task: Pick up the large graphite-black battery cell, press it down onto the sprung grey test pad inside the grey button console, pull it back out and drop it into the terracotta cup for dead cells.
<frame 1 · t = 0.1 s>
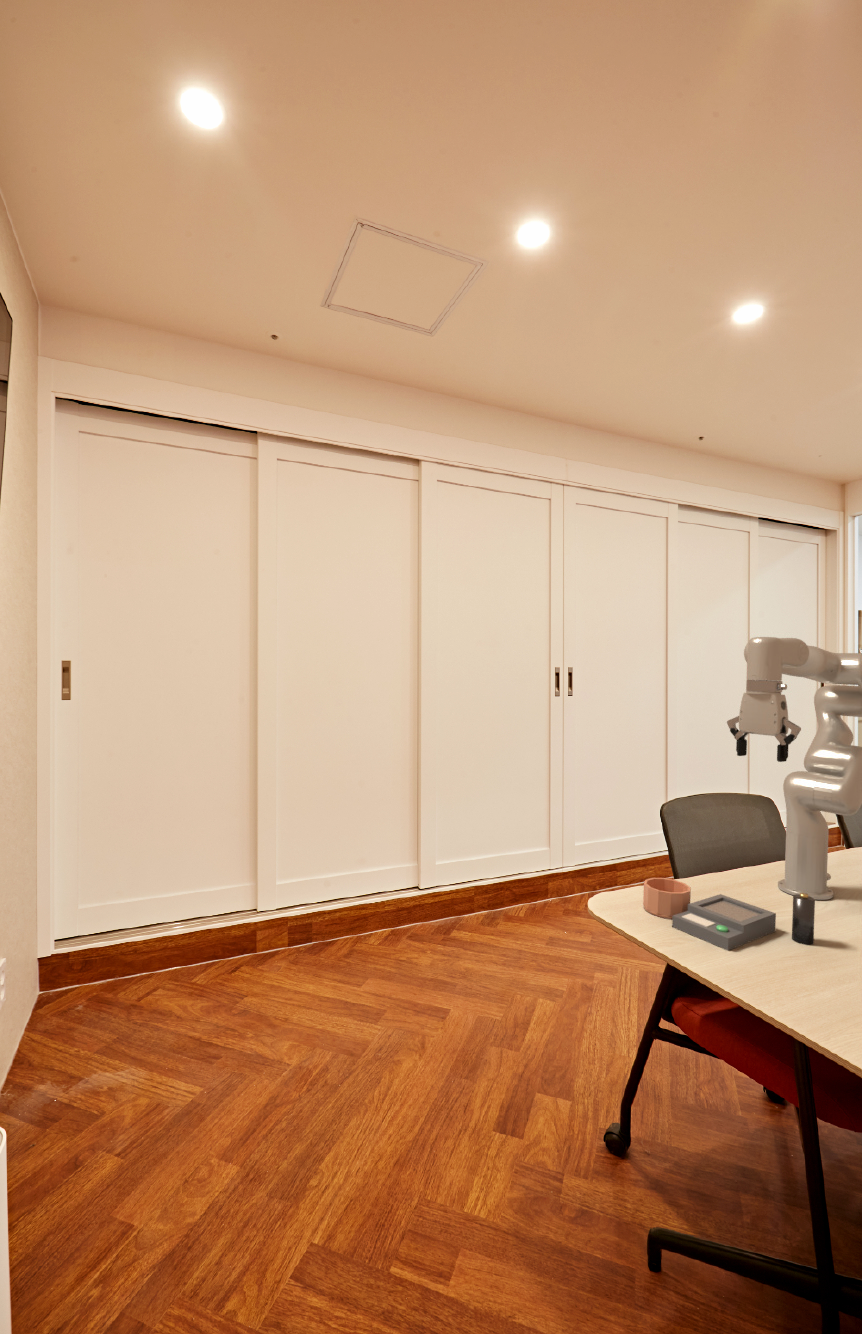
hand: (761, 758, 149), 36 cm above the table, tool pointing down, fingers open, 9 cm apart
battery: (802, 940, 132), on the table
test pad: (731, 913, 138), point 3 cm above the table, slide at 0.0 cm
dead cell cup: (666, 910, 146), on the table
grey button console: (730, 926, 138), on the table
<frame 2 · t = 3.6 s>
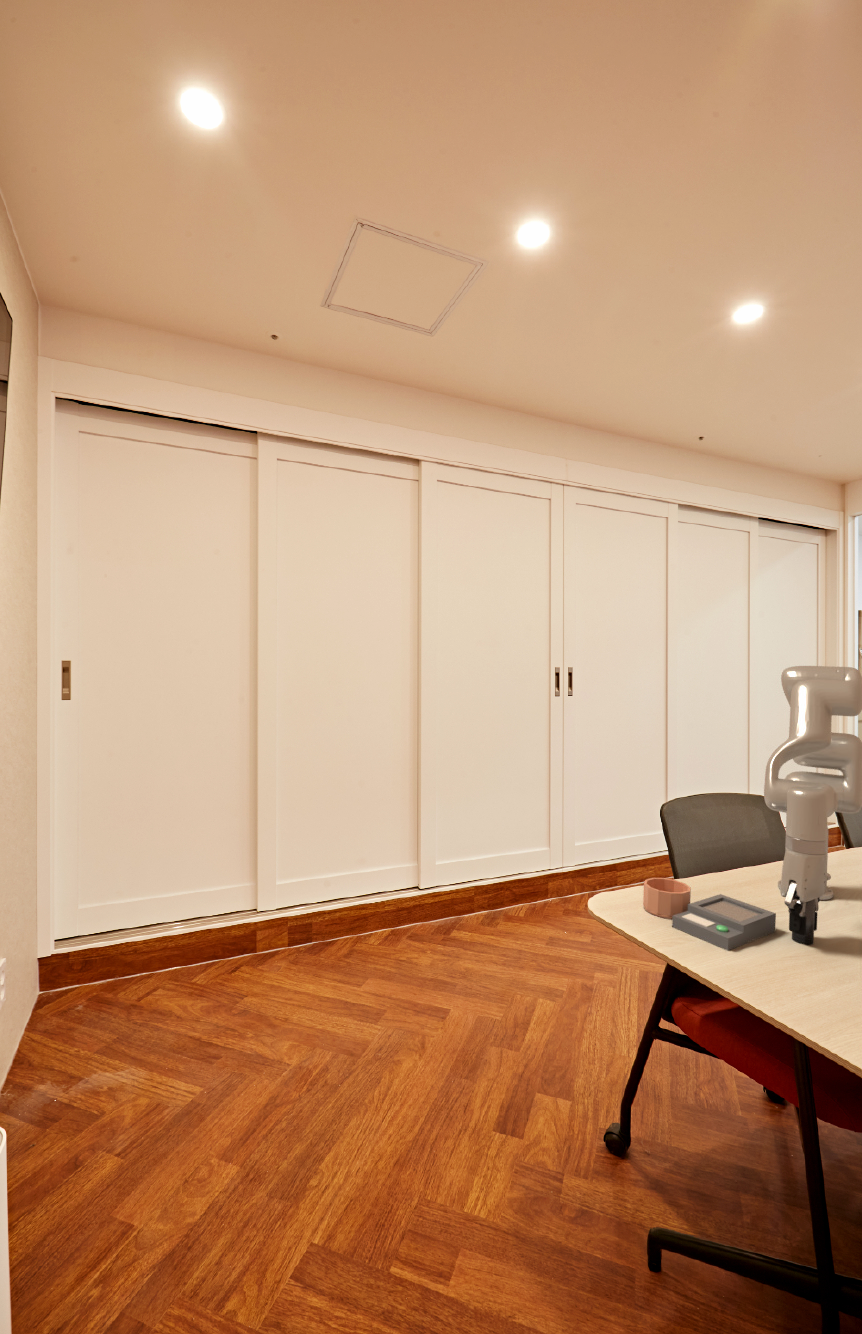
hand: (802, 929, 132), 2 cm above the table, tool pointing down, fingers closed on battery, 4 cm apart
battery: (802, 940, 132), on the table, touching gripper
everything else where it was.
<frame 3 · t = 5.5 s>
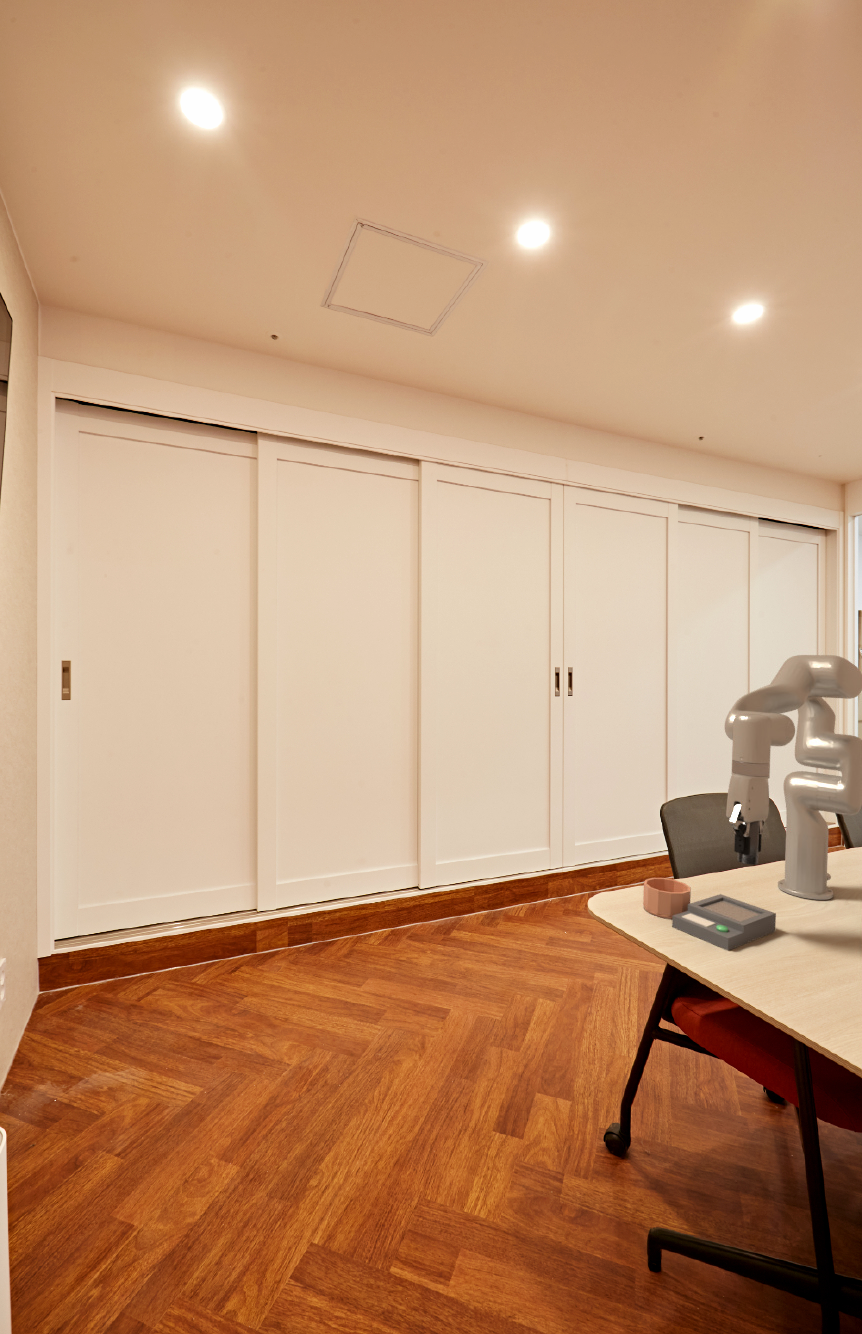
hand: (747, 851, 136), 17 cm above the table, tool pointing down, fingers closed on battery, 4 cm apart
battery: (747, 861, 136), point 15 cm above the table, touching gripper
everything else where it was.
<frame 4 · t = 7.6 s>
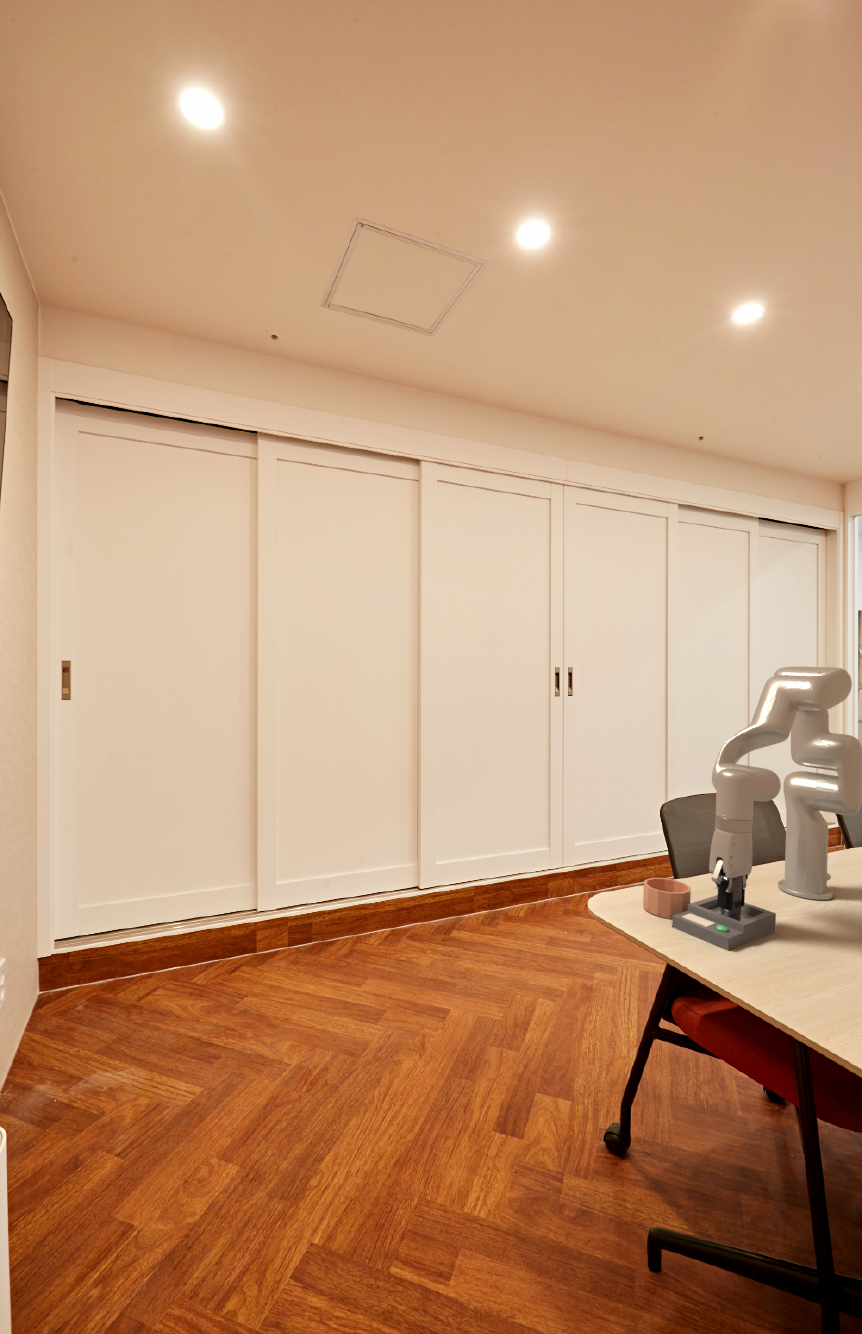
hand: (730, 905, 138), 5 cm above the table, tool pointing down, fingers closed on battery, 4 cm apart
battery: (730, 916, 138), point 2 cm above the table, touching gripper, test pad
test pad: (730, 917, 138), point 2 cm above the table, slide at -1.1 cm, touching battery
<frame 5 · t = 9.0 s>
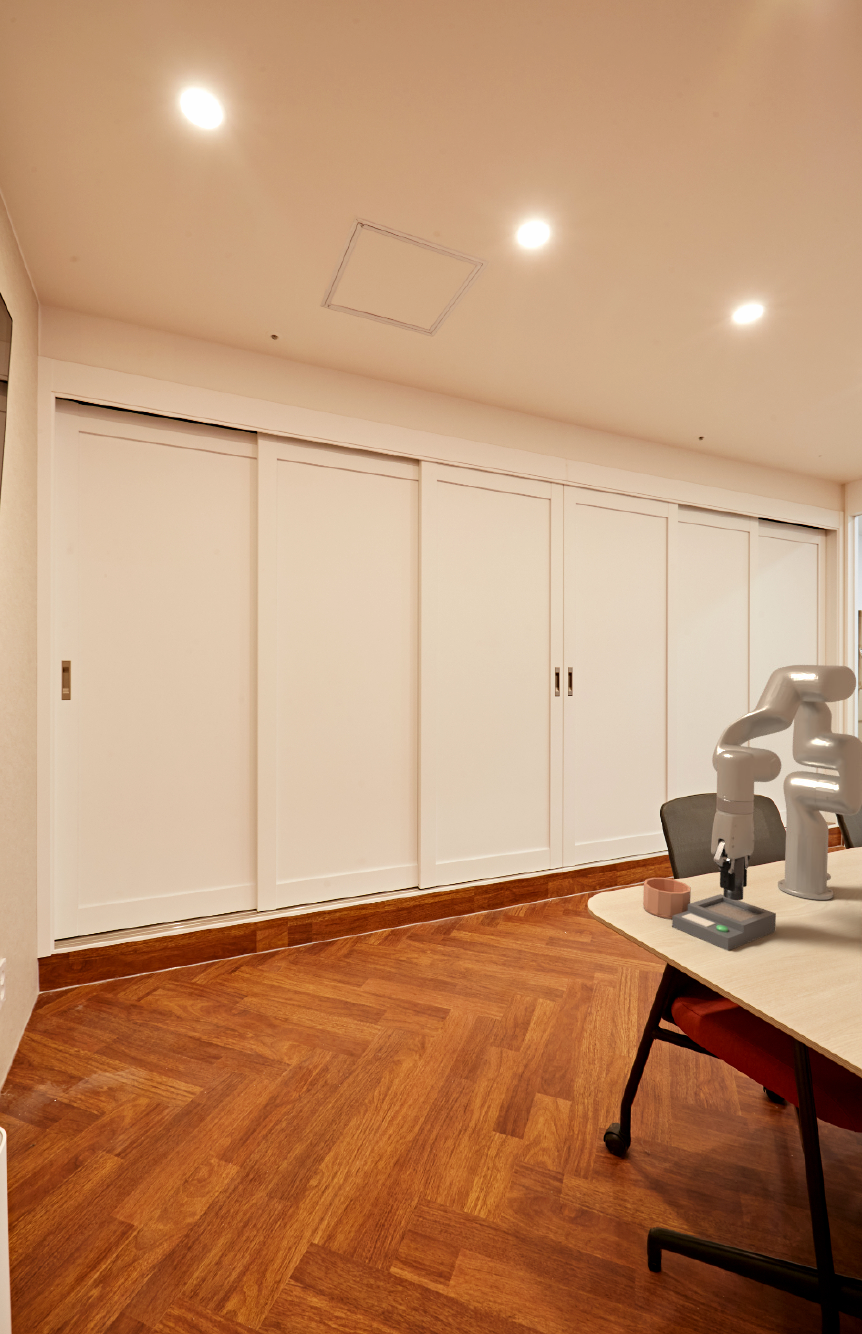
hand: (733, 886, 138), 9 cm above the table, tool pointing down, fingers closed on battery, 4 cm apart
battery: (733, 896, 138), point 7 cm above the table, touching gripper
test pad: (731, 914, 138), point 3 cm above the table, slide at -0.3 cm
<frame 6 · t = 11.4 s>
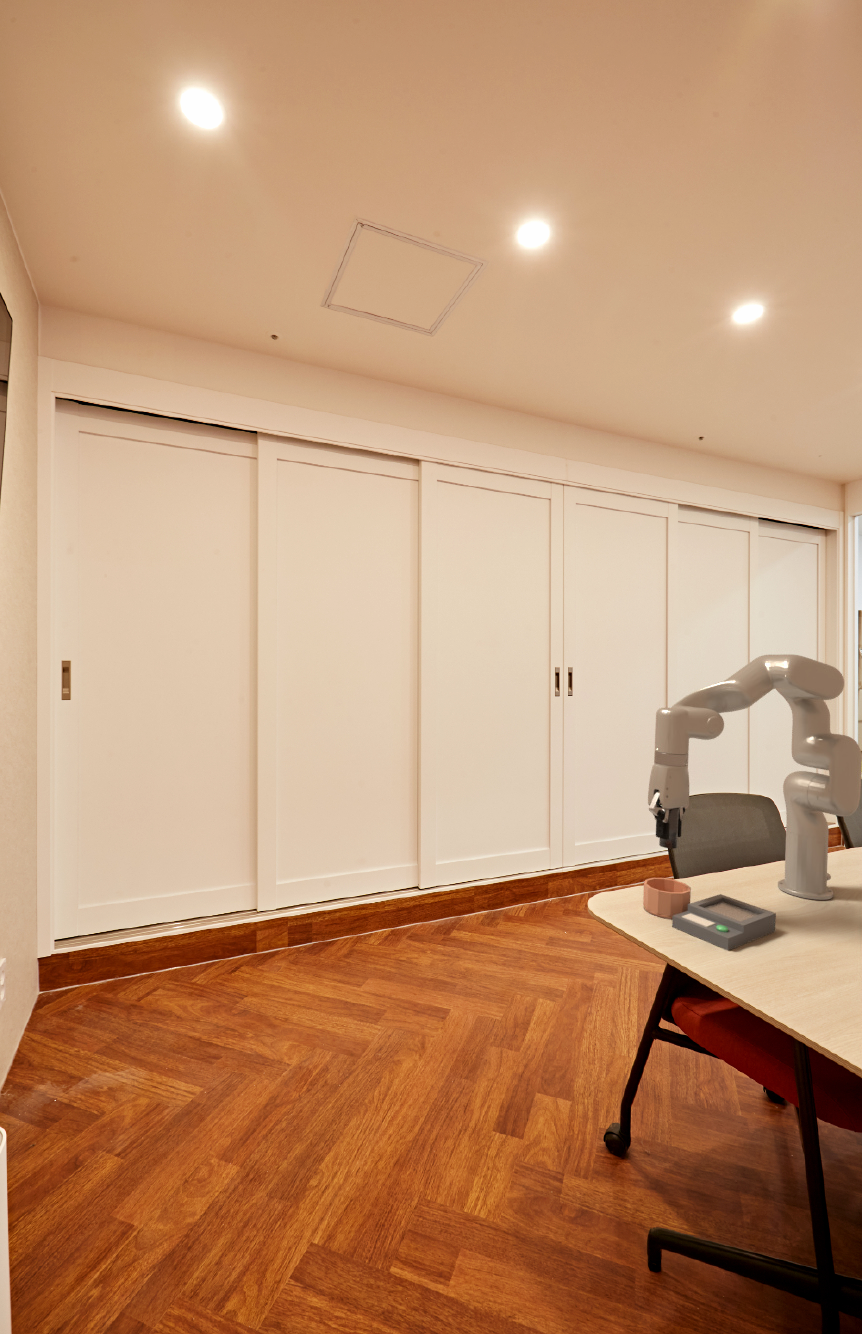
hand: (668, 836, 146), 18 cm above the table, tool pointing down, fingers closed on battery, 4 cm apart
battery: (668, 845, 146), point 15 cm above the table, touching gripper
everything else where it was.
when the fingers open (6 cm above the table, at t = 13.7 s): battery drops 3 cm, resting on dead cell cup.
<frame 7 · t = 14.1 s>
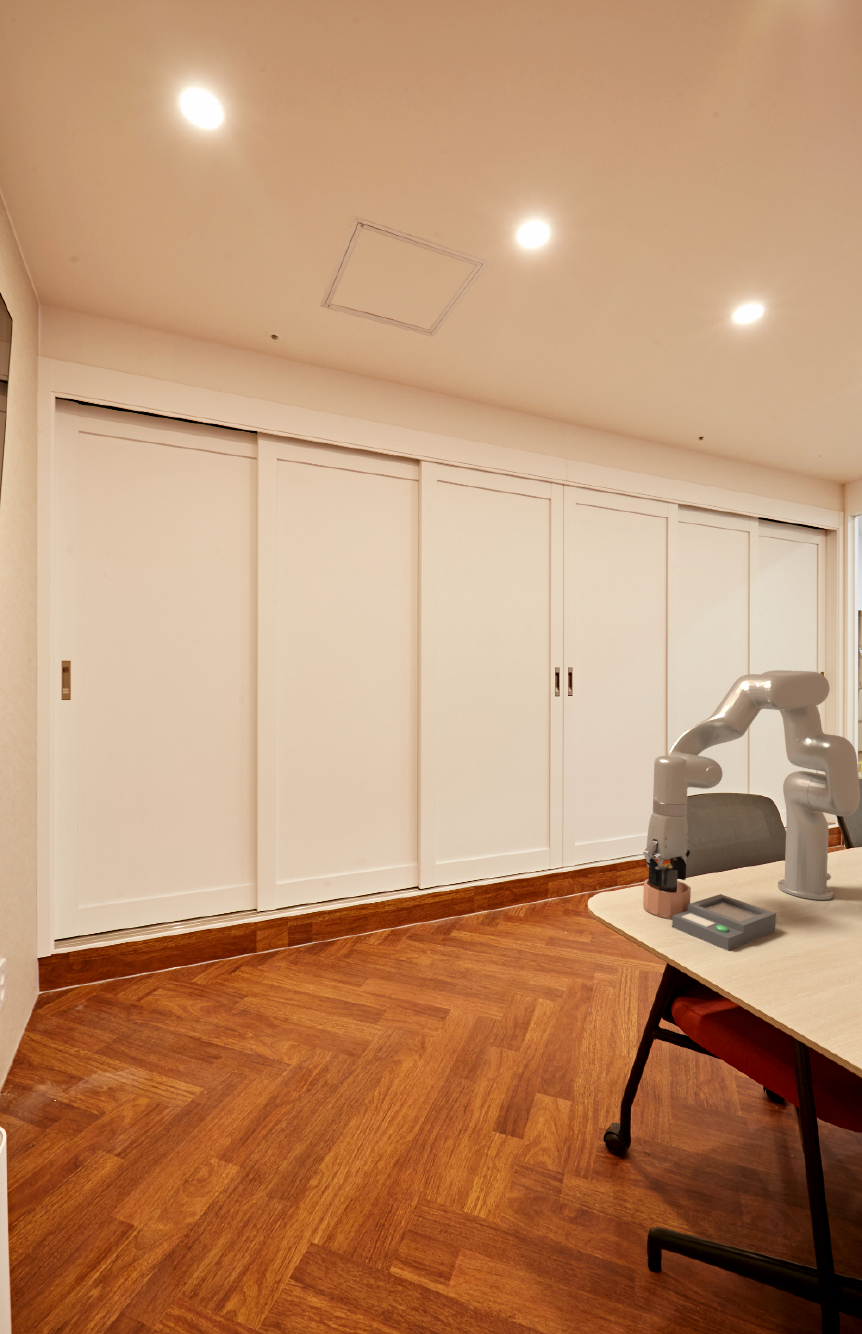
hand: (667, 881, 146), 7 cm above the table, tool pointing down, fingers open, 8 cm apart
battery: (667, 907, 146), point 1 cm above the table, touching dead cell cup
everything else where it was.
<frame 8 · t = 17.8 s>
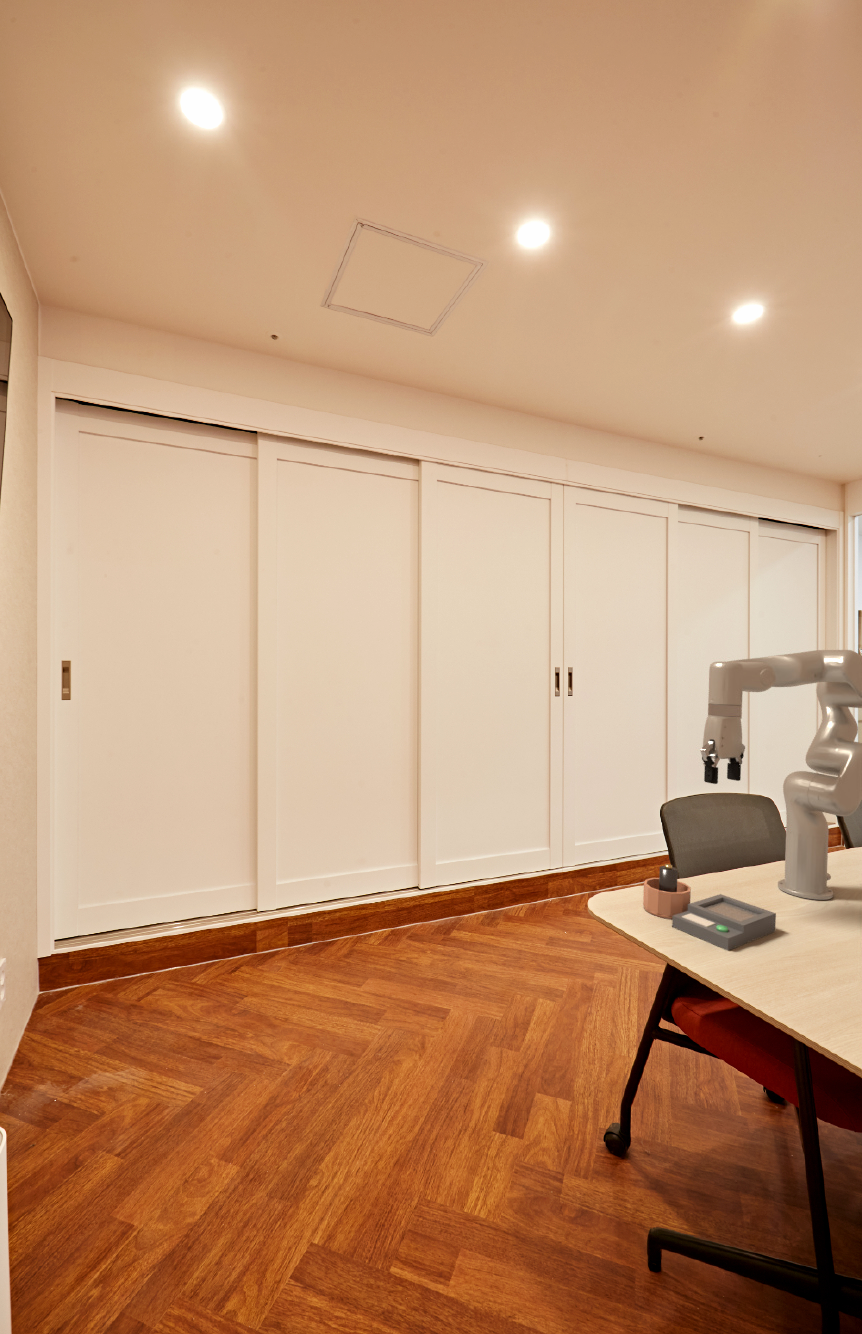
hand: (722, 781, 151), 30 cm above the table, tool pointing down, fingers open, 9 cm apart
nothing on the table moved.
at the end: battery 0.2 cm off-centre on the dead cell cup, point 0.8 cm above the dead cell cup's base; the gripper is holding nothing; battery moved 27.6 cm from its start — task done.
